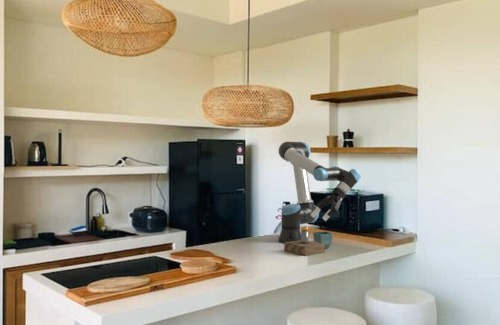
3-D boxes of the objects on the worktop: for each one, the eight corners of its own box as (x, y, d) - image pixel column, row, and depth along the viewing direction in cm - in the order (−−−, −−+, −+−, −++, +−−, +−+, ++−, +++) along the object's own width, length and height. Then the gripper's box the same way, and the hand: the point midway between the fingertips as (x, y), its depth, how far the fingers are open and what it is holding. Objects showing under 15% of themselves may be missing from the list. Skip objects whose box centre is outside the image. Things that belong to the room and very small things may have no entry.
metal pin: (299, 251, 269) (299, 227, 269) (304, 251, 272) (304, 226, 271) (304, 252, 266) (304, 227, 266) (309, 252, 268) (309, 227, 268)
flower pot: (325, 246, 288) (325, 231, 287) (333, 248, 279) (333, 233, 279) (312, 247, 284) (312, 232, 284) (320, 249, 276) (320, 234, 276)
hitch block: (284, 251, 270) (284, 242, 270) (303, 248, 280) (303, 239, 280) (304, 256, 257) (305, 246, 257) (324, 252, 268) (324, 243, 268)
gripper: (356, 197, 266) (333, 225, 261) (333, 193, 290) (311, 219, 284) (348, 188, 264) (325, 216, 259) (325, 185, 288) (303, 210, 282)
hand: (317, 218), depth 272 cm, fingers open, 13 cm apart
